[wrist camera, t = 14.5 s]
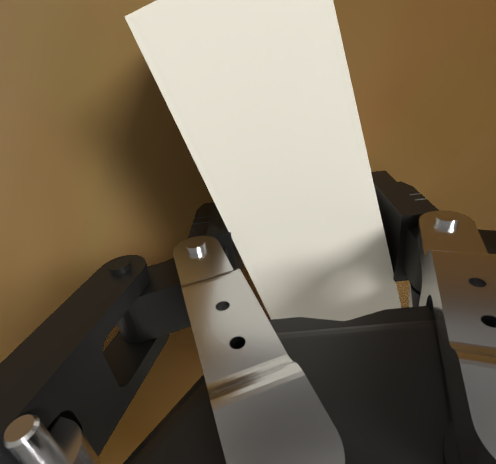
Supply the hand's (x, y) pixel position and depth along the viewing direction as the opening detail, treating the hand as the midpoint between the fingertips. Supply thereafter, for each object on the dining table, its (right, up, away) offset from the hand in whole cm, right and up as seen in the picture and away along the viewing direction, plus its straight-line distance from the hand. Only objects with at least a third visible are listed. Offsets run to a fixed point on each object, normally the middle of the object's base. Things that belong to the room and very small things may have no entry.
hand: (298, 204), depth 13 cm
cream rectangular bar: (0, +1, +1) cm, 1 cm away
